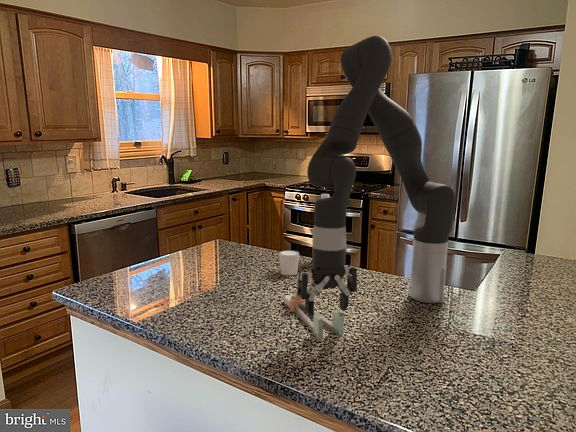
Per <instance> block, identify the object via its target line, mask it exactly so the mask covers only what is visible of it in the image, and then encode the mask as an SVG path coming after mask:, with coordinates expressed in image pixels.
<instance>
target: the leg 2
mask: <svg viewBox="0 0 576 432" xmlns="http://www.w3.org/2000/svg"><path fill="white" fill-rule="evenodd" d="M299 308H300V309H301V310H303V311H305V302H304V303H300V306H299ZM314 314H319V315H320V316H321V317H322V318H323V326H325V327H326V328H328V329H329V330H331V332H333V333H334V334H336V335H337V336H338V337H339V336H343V335H344V326H345V325H344V323H345V315H344V314H343V313H342V312H340V311H338V310H337V309H336V310H332V318H331V319H332V321H330V320H328V318H326V317H324V315H322V314H321V313H319V312H318V311H317V310H315V309H314Z"/></svg>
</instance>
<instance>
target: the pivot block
mask: <svg viewBox="0 0 576 432" xmlns="http://www.w3.org/2000/svg"><path fill="white" fill-rule="evenodd" d="M290 299H295V294H290V295H284V296H283V303H284V304H285V306H287V307H288V308H289V309H290ZM296 305H297V306H298V307H300V303H298V304H296Z"/></svg>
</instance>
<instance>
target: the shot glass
mask: <svg viewBox="0 0 576 432" xmlns="http://www.w3.org/2000/svg"><path fill="white" fill-rule="evenodd" d="M278 255H279V257H278V258H279V266H280V268H279V269H280V274H281V275H283V276H294V275H295V276H296V275H297V274H298V269H299V261H300V260H299V259H300V252H299V251H297V250H282V251H280V252H278Z"/></svg>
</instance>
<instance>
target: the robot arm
mask: <svg viewBox="0 0 576 432" xmlns="http://www.w3.org/2000/svg"><path fill="white" fill-rule="evenodd" d="M392 59H393V53H392V49H391V46H390V44H389V42H388V41H387V39H385V38H384V37H383V36H381V35H372V36H369V37H367V38H364V39H361V40H360V41H358V42H356V43H354V44H352V45H351V46H349V47H348V46H347V47H346V48H345V49H344V50H343V51H342V53H341V56H340V64H341V68H342V71H343V74H344V75H345V77H346V79H347V81H348V84H350V86H351V89H350V91H349V92H348V93H347V95H346V96H345V97H344V99H343V100H342V101H341V103H340V104H339V105H338V107H337V109H336V110H335V112H334V115H333V117H332V120H331V122H330V125H329V128H328V131H327V134H326V137H325V138H324V139H323V141H322V142H321V143H320V145H319V147H318V148H317V149H316V151H315V152H314V154H313V155H312V157H311V158H310V160H309V163H308V165H307V170H306V171H307V172H306V173H307V178H308V181H309V183H310V185H312V186H315V187H317V188H325V189H326V188H327V189H334V192H333V194H332V196H329V198H322V199H321V198H320V199H317V200H316V201H315V204H314V217H313V218H314V219H313V230H312V231H313V232H312V251H311V264H312V266H311V267H312V268H311V271H305V272H304V271H303V270H299V272H298V280H297V289H296V290H297V295H298V296H299V297H300V298H301V299H303V300H305V302H304V303H305V310H304V311H305V312H306V314H308V315H309V317H313V316H314V310H315V300H314V299H315V298H316V296H317V295H319V294H320V293H321V291H323V290H328V289H336V287H337V288H338V289H339V291H340V293H339V309H340V310H342V311H344V312H345V311H347V308H348V307H349V304H350V303H349V300H350V299H349V297H350V294H352V293H356V292H357V290H358V289H357V288H358V283H357V282H358V279H357V278H358V274H357V273H358V272H357V271H358V270H357V268H356V267H354V266H352V265H350V264H348V265H347V266H346V267H345V265H346V248H347V231H346V230H347V228H346V222H347V208H348V203H349V198H350V195H351V192H352V189H353V187H354V184H355V180H356V177H357V167H356V164H355V162H354V160H353V159H352V158H351V157H348V156H345V155H348V154H351V153H353V152H354V151H355V149H356V148H357V145H358V141H359V139H360V136H361V132H362V129H363V127H364V126H363V125H364V123H365V120H366V117H367V116H369V117H370V119H371V121H372V122H373V125H374V126H375V128H376V130H377V132H378V135H379V137H380V139H381V141H382V143H383V145H384V147H385V149H386V150H387V151H386V152H388V154H389V157H390V158H391V160H392V163H393V165H394V166H395V169H396V171H397V173H398V174H399V177H400V179H401V181H402V184H403V186H404V189H405V192H406V194H407V197H408V200H409V203H410V205H411V206H412V208H413V210H415V211H416V212H418V213H419V214H422V215H424V216H425V218H424V224H423V225H421V226H417V227H416V228H415V229H414V232H413V244H412V260H411V274H410V275H411V276H410V288H409V289H410V294H409V296H410V298H412V300H415V301H416V302H417V301H418V302H421V303H426V304H427V303H428V304H436V303H440V304H443V303H444V297H445V285H446V274H447V258H448V247H449V246H448V243H449V238H450V237H449V236H450V234H451V232H452V229H453V223H454V217H455V210H456V209H455V208H456V194H455V191H454V189H453V188H452V187H451V186H450V185H447V184H444V183H438V182H433V181H431V179H430V178H429V176H428V174H427V172H426V170H425V168H424V166H423V163H422V151H423V150H422V149H423V142H422V135H421V134H420V131H419V129H418V127H417V125H416V123H415V120H414V119H413V117H412V116H411V114H410V113H409V112H408V111H407V110H406V109H404V108H403V107H402V106H400V105H399V104H398V103H396V102H395V101H394V100H393V99H391V98H389V97H388V96H387V95H386V94H385V93H384V92H383V91H382V90H381V85H382V84H383V82H384V80H385V78H386V76H387V74H388V72H389V70H390V68H391V66H392V61H393V60H392ZM367 114H368V115H367ZM345 275H346V284H345V282H344V281H343V278H344V277H345ZM310 279H312V281H311V282H310ZM309 282H310V283H309ZM308 283H309V285H308ZM308 315H307V316H308Z"/></svg>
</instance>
